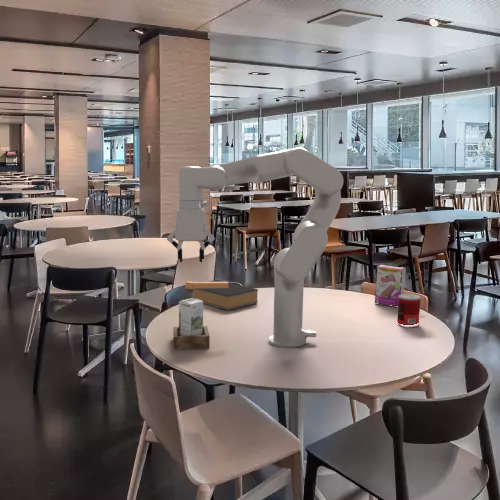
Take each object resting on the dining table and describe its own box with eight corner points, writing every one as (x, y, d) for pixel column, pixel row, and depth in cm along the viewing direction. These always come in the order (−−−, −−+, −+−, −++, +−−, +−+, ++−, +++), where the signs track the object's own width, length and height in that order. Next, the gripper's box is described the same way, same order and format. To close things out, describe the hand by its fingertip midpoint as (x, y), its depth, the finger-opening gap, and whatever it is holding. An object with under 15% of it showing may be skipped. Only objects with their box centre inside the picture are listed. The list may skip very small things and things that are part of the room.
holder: (206, 331, 202) (206, 286, 199) (209, 348, 184) (209, 298, 182) (173, 332, 200) (173, 287, 198) (173, 349, 183) (173, 299, 180)
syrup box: (190, 339, 193) (190, 297, 191) (203, 343, 190) (203, 300, 187) (178, 343, 189) (178, 300, 187) (191, 347, 185) (191, 303, 183)
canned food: (422, 324, 214) (424, 296, 213) (412, 329, 209) (413, 299, 207) (403, 320, 219) (405, 292, 218) (393, 324, 214) (394, 296, 212)
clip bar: (185, 287, 197) (185, 281, 196) (227, 286, 198) (227, 281, 198) (185, 289, 194) (185, 283, 193) (228, 288, 195) (228, 283, 195)
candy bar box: (374, 304, 244) (376, 266, 241) (378, 301, 248) (380, 264, 245) (400, 308, 238) (402, 269, 235) (403, 305, 242) (406, 267, 239)
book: (217, 294, 259) (217, 279, 258) (257, 304, 242) (258, 289, 241) (187, 300, 246) (187, 285, 245) (228, 312, 229) (228, 295, 228)
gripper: (216, 204, 187) (216, 259, 190) (163, 204, 184) (164, 259, 187) (218, 206, 179) (218, 263, 182) (163, 206, 177) (163, 263, 180)
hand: (190, 260), depth 185 cm, fingers open, 5 cm apart
